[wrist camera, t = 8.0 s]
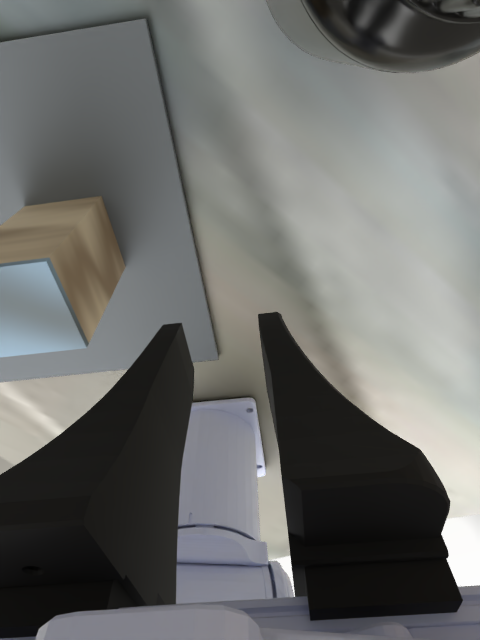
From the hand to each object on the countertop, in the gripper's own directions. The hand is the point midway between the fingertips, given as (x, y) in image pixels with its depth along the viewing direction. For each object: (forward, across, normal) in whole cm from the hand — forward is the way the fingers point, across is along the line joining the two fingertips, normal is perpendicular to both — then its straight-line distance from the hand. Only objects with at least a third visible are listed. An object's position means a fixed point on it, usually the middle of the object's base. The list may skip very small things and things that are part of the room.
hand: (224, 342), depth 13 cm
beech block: (+10, +8, 0) cm, 12 cm away
